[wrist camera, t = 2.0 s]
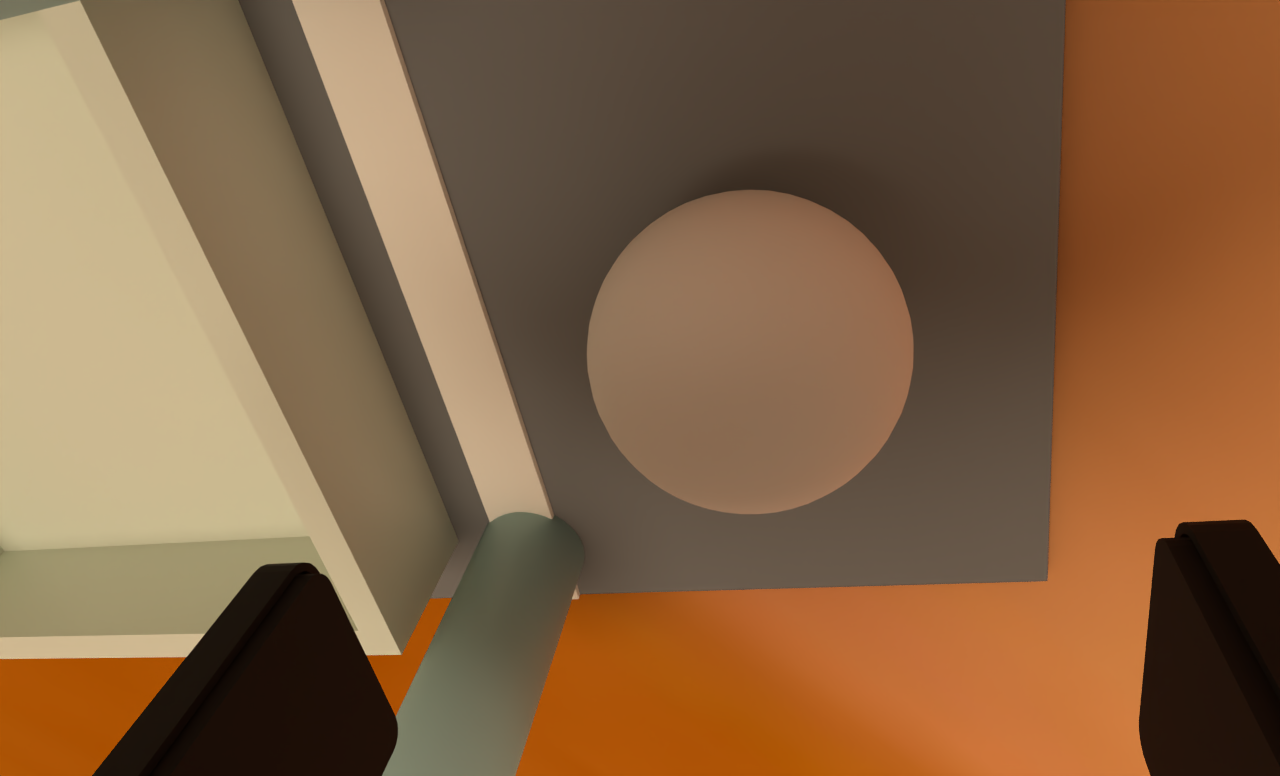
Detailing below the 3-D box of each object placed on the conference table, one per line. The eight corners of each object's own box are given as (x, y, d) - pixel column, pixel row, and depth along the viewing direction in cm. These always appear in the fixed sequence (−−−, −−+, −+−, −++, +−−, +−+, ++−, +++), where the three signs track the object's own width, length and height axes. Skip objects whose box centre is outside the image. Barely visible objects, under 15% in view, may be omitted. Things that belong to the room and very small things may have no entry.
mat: (-454, -37, 17) (-484, -34, 17) (1076, -524, 10) (1085, -536, 10) (31, 601, 26) (19, 613, 25) (1044, 570, 19) (1048, 586, 18)
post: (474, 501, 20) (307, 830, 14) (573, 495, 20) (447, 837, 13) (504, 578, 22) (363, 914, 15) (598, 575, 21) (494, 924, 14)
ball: (592, 169, 15) (506, 300, 11) (891, 123, 14) (919, 250, 10) (649, 409, 18) (597, 589, 14) (908, 388, 17) (937, 579, 12)
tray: (-372, 55, 17) (-600, 101, 15) (198, -97, 14) (42, -75, 11) (10, 561, 24) (-97, 659, 21) (458, 540, 21) (401, 654, 18)
